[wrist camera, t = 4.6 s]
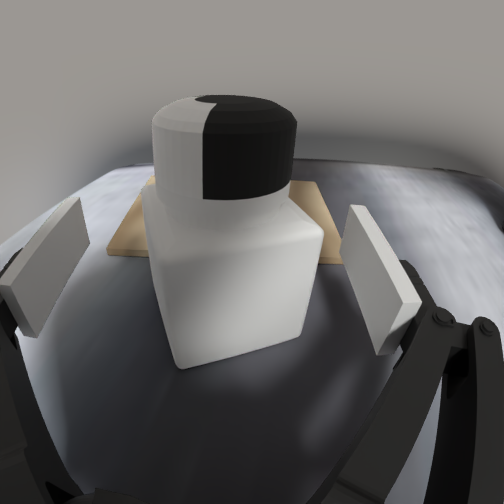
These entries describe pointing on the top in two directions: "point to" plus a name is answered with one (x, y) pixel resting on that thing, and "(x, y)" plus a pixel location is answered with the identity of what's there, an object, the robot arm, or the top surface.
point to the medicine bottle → (227, 228)
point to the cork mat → (301, 193)
